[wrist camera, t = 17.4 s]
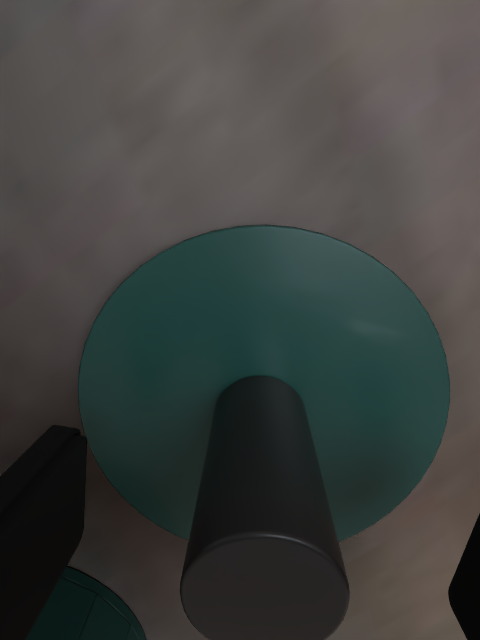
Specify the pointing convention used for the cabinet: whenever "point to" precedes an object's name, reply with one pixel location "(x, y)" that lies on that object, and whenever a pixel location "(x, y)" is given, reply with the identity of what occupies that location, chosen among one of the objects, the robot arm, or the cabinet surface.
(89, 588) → the tin
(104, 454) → the lid
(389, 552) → the cabinet surface
